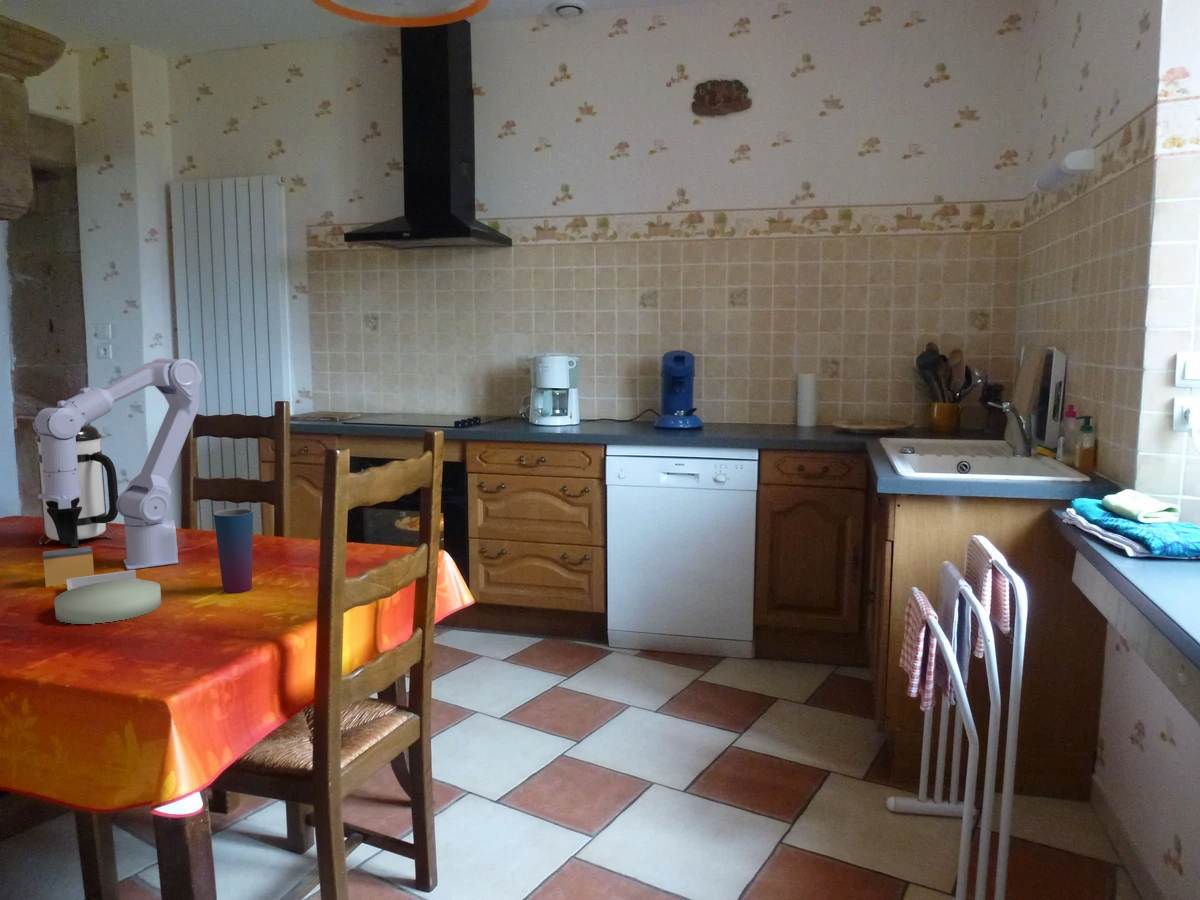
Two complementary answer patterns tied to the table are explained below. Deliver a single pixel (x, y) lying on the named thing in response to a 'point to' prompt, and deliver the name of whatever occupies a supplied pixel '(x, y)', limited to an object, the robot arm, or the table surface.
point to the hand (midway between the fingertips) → (66, 539)
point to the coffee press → (87, 488)
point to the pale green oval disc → (106, 598)
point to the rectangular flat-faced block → (67, 564)
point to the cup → (235, 548)
